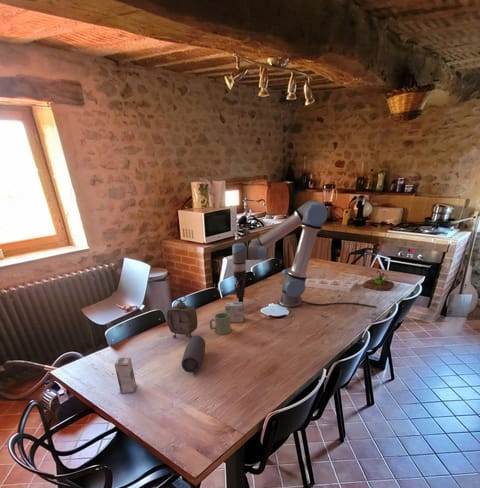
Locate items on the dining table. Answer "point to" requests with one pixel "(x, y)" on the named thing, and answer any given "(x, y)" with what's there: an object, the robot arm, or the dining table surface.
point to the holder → (331, 284)
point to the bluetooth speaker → (193, 354)
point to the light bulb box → (235, 311)
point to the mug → (221, 323)
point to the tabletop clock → (182, 318)
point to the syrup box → (125, 374)
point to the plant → (379, 283)
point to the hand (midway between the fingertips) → (241, 307)
